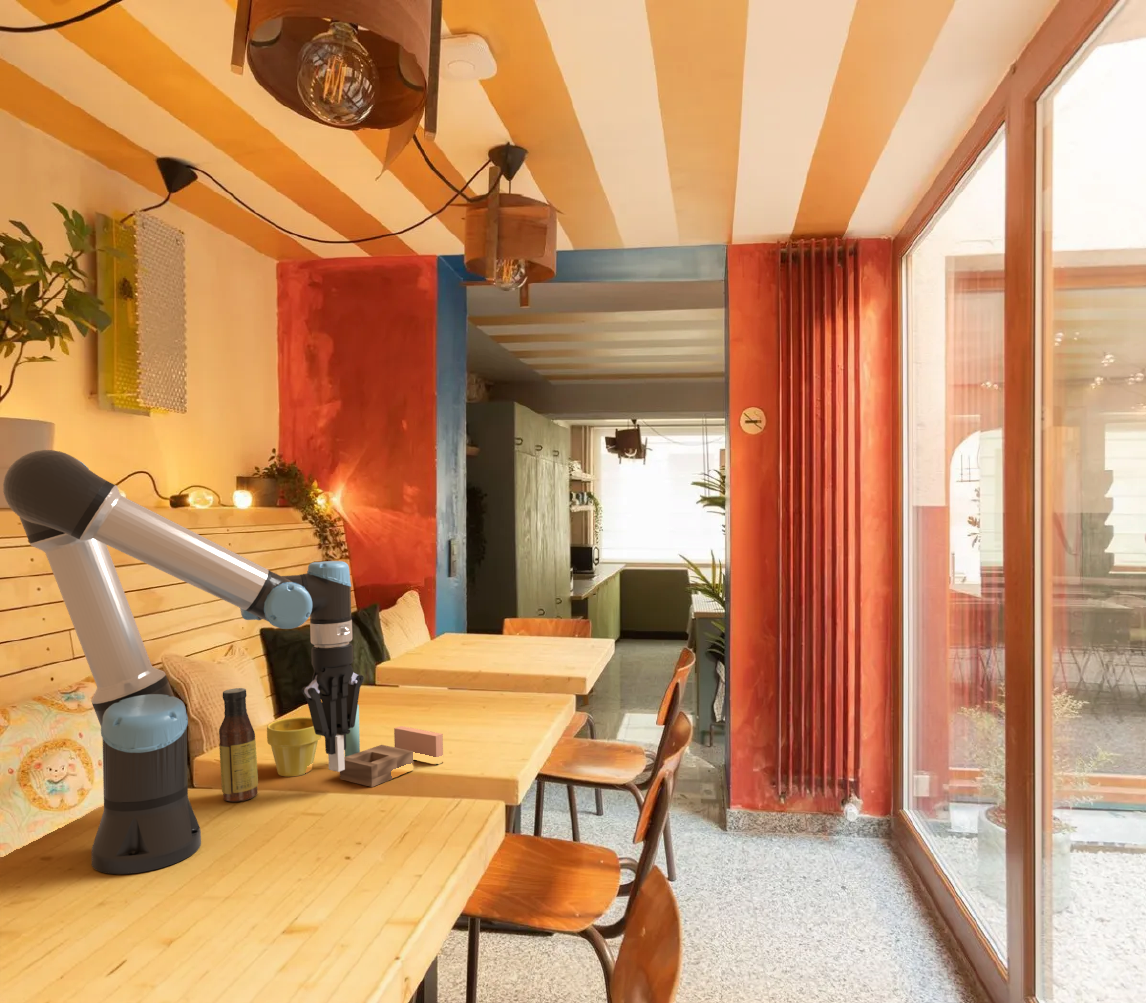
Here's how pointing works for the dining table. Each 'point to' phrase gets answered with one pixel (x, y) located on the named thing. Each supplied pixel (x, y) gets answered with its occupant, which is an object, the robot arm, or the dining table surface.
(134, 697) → the robot arm
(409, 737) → the wall
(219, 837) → the dining table surface
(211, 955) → the dining table surface
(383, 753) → the block
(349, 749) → the dowel
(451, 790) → the dining table surface
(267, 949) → the dining table surface
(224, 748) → the sauce bottle
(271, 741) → the plant pot
